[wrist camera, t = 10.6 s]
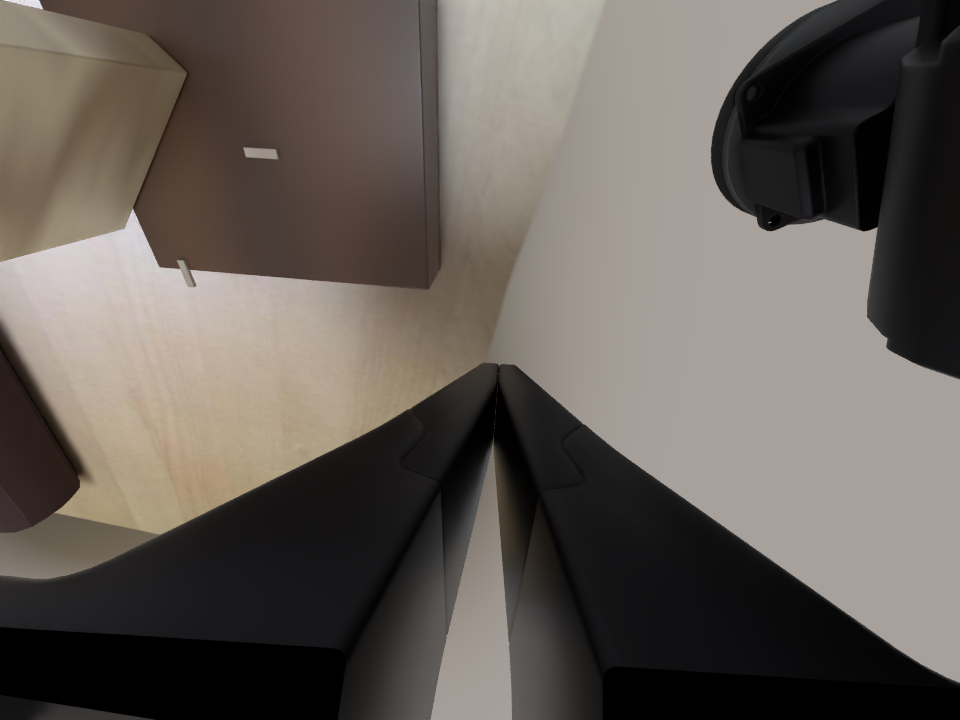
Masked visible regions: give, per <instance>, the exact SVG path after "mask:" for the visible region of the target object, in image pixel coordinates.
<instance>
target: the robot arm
mask: <svg viewBox="0 0 960 720" xmlns="http://www.w3.org/2000/svg"><path fill="white" fill-rule="evenodd" d="M752 86H755V88H756V93H755V95H754V97H753V98H752V99H750V100H748V98H747V92H748V90H749V88H750V87H752ZM735 103H736V108H737V114H738V119H739V124H740V130H741V135H742V139H741V141H740V143H739V145H738V147H737V149H738V154H739V159H740V165H741V170H742V175H743V180H744V185H745V190H746V196H747V200H748V201H751V202H754V205H755V211H756V216H757V222H758V225H759V227H761V228H762V229H764V230H767V231H774V230H777V229H779V228H782V227H784V226H786V225H789V224H791V223H793V222H795V221H798V220H800V219H804V220H807V221H811V220H813V219H815V218H818V217H820V218H823V219H826V220H829V221H833V222H836V223H839V224H842V225H845V226H848V227H851V228H855V229H858V230H861V231H868V230H871V229H874V228H876V227H878V229H877V236H876V243H875V250H874V257H873V264H872V273H871V279H870V286H869V293H868V301H867V317H868V319H869V320H870V321H871V322H872V323H873V324H874V326H875V327H876V328H877V329H878V330H879V331H880V333H881V334H882V335H883V336H885V337H887V338H888V340H887V346H886V347H887V348H888V349H889V350H890V351H892V352H894V353H896V354H898V355H899V356H902V357H903V358H906V359H907V360H909V361H911V362H913V363H916V364H918V365H920V366H922V367H925V368H927V369H930V370H934V371H936V372H939V373H942V374H945V375H948V376H951V377H954V378H957V379H960V0H884V1H882V2H880V3H879V4H877V5H875V6H873V7H872V8H870V9H868V10H866V11H865V12H863V13H861V14H860V15H858V16H856V17H854V18H853V19H851V20H849V21H847V22H846V23H844V24H842V25H840V26H839V27H837V28H835V29H834V30H832V31H830V32H828V33H827V34H825V35H823V36H821V37H820V38H818V39H816V40H814V41H813V42H811V43H809V44H808V45H806V46H804V47H802V48H801V49H799V50H797V51H795V52H794V53H792V54H790V55H788V56H787V57H785V58H783V59H782V60H780V61H778V62H776V63H775V64H773V65H771V66H769V67H768V68H766V69H764V70H762V71H761V72H759V73H757V74H756V75H754V76H752V77H750V78H749V79H747V80H746V81H744V82H743V83H742V84H741V85H740V86H739V88H738V89H737V92H736V95H735ZM775 214H776V219H775V220H774V221H773V222H772V223H768V222H769V219H770V217H771V216H773V215H775ZM498 373H499V375H498ZM497 386H498V388H497ZM496 398H497V401H496ZM495 411H496V414H495ZM494 424H495V427H494ZM493 437H494V459H495V472H496V486H497V498H498V511H499V522H500V523H499V524H500V536H501V548H502V562H503V574H504V587H505V598H506V599H505V600H506V613H507V625H508V637H509V643H510V644H509V649H510V650H509V651H510V665H511V686H512V687H511V688H512V720H960V683H959V682H956V681H954V680H951V679H949V678H946V677H944V676H942V675H941V674H939V673H937V672H935V671H933V670H931V669H929V668H927V667H925V666H923V665H921V664H920V663H918V662H916V661H915V660H913V659H912V658H910V657H909V656H907V655H905V654H904V653H902V652H901V651H899V650H898V649H896V648H894V647H893V646H892V645H890V644H889V643H888V642H886V641H885V640H883V639H882V638H881V637H879V636H878V635H876V634H875V633H873V632H872V631H871V630H869V629H868V628H866V627H865V626H864V625H862V624H861V623H859V622H858V621H856V620H855V619H854V618H852V617H851V616H849V615H848V614H846V613H845V612H844V611H842V610H841V609H839V608H838V607H837V606H835V605H833V604H832V603H831V602H830V601H828V600H827V599H825V598H824V597H822V596H821V595H820V594H818V593H817V592H815V591H814V590H813V589H811V588H810V587H808V586H807V585H805V584H804V583H803V582H801V581H800V580H798V579H797V578H795V577H794V576H793V575H791V574H790V573H789V572H787V571H786V570H784V569H783V568H781V567H780V566H779V565H777V564H776V563H774V562H773V561H771V560H770V559H769V558H767V557H766V556H764V555H763V554H762V553H760V552H759V551H757V550H756V549H754V548H753V547H752V546H750V545H749V544H747V543H746V542H744V541H743V540H742V539H740V538H739V537H738V536H736V535H735V534H733V533H732V532H730V531H729V530H727V529H726V528H725V527H723V526H722V525H721V524H719V523H718V522H716V521H715V520H713V519H712V518H711V517H709V516H708V515H706V514H705V513H704V512H702V511H701V510H699V509H698V508H696V507H695V506H694V505H692V504H691V503H689V502H688V501H686V500H685V499H684V498H682V497H681V496H679V495H678V494H677V493H675V492H674V491H672V490H671V489H669V488H668V487H667V486H665V485H664V484H662V483H661V482H660V481H658V480H657V479H655V478H654V477H653V476H651V475H650V474H648V473H647V472H645V471H644V470H643V469H641V468H640V467H638V466H637V465H636V464H634V463H633V462H631V461H630V460H628V459H627V458H626V457H625V456H623V455H622V454H620V453H619V452H618V451H616V450H615V449H614V448H612V447H611V446H610V445H609V444H607V443H606V442H605V441H604V440H602V439H601V438H600V437H599V436H597V435H596V434H595V433H594V432H593V431H592V430H590V429H589V428H588V427H587V426H586V425H584V424H582V423H581V422H580V421H579V420H578V419H577V418H576V417H574V416H573V415H572V414H571V413H570V412H569V411H568V410H566V409H565V408H564V407H563V406H562V405H561V404H560V403H558V402H557V401H556V400H555V399H554V398H553V397H551V396H550V395H549V394H548V393H547V392H546V391H544V390H543V389H542V388H541V387H540V386H539V385H538V384H536V383H535V382H534V381H533V380H532V379H531V378H529V377H528V376H527V375H526V374H525V373H524V372H523V371H521V370H520V369H519V368H518V367H517V366H515V365H507V364H506V365H505V364H501V365H500V366H499V365H498V364H493V363H482V364H480V365H479V366H477V367H476V368H474V369H472V370H471V371H469V372H468V373H466V374H465V375H463V376H461V377H460V378H458V379H457V380H455V381H453V382H452V383H450V384H449V385H447V386H445V387H444V388H442V389H441V390H439V391H437V392H436V393H434V394H433V395H431V396H430V397H428V398H426V399H425V400H423V401H422V402H420V403H418V404H417V405H415V406H414V407H412V408H410V409H408V410H406V411H405V412H403V413H401V414H400V415H398V416H396V417H395V418H393V419H391V420H390V421H388V422H386V423H384V424H383V425H381V426H379V427H377V428H375V429H374V430H372V431H370V432H368V433H366V434H364V435H362V436H360V437H358V438H356V439H354V440H352V441H350V442H348V443H346V444H344V445H342V446H340V447H338V448H336V449H334V450H332V451H330V452H328V453H326V454H324V455H322V456H320V457H318V458H316V459H314V460H312V461H310V462H308V463H306V464H303V465H301V466H299V467H297V468H295V469H293V470H291V471H289V472H287V473H285V474H283V475H281V476H279V477H277V478H275V479H273V480H271V481H269V482H267V483H265V484H263V485H261V486H259V487H257V488H255V489H253V490H251V491H249V492H247V493H245V494H243V495H241V496H239V497H237V498H235V499H233V500H231V501H229V502H226V503H224V504H222V505H220V506H218V507H216V508H214V509H212V510H210V511H208V512H206V513H204V514H202V515H200V516H198V517H196V518H194V519H192V520H190V521H188V522H186V523H184V524H182V525H180V526H178V527H176V528H174V529H172V530H170V531H168V532H166V533H164V534H162V535H160V536H158V537H156V538H154V539H152V540H149V541H147V542H146V543H143V544H141V545H139V546H137V547H135V548H133V549H131V550H129V551H127V552H125V553H123V554H121V555H119V556H117V557H115V558H113V559H111V560H109V561H106V562H104V563H102V564H99V565H97V566H95V567H92V568H90V569H87V570H83V571H81V572H77V573H74V574H71V575H67V576H61V577H56V578H51V579H30V578H21V577H13V576H0V720H430V719H431V713H432V708H433V703H434V697H435V692H436V686H437V680H438V675H439V670H440V665H441V661H442V656H443V652H444V647H445V643H446V635H447V634H448V630H449V626H450V622H451V618H452V614H453V609H454V605H455V601H456V597H457V593H458V588H459V584H460V580H461V576H462V571H463V567H464V563H465V559H466V555H467V551H468V546H469V542H470V538H471V534H472V529H473V525H474V521H475V517H476V513H477V509H478V504H479V500H480V496H481V492H482V488H483V483H484V479H485V475H486V471H487V466H488V463H489V458H490V454H491V449H492V444H493Z"/></svg>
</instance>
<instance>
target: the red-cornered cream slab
mask: <svg viewBox="0 0 960 720" xmlns="http://www.w3.org/2000/svg"><path fill="white" fill-rule="evenodd" d="M186 75H187V72H186V71H185V70H184V69H183V68H182V67H181V66H180V65H179V64H178V63H177V62H176V61H175V60H174V59H172V58H171V57H170V56H169V55H168V54H167V53H166V52H165V51H164V50H163V49H162V48H161V47H160V46H159V45H158V44H157V43H155V42H154V41H153V40H152V39H151V38H150V37H149V36H148V35H147V34H143V33H139V32H135V31H131V30H127V29H122V28H118V27H114V26H110V25H105V24H101V23H97V22H93V21H89V20H84V19H80V18H76V17H72V16H67V15H63V14H59V13H55V12H51V11H46V10H42V9H38V8H34V7H29V6H25V5H21V4H17V3H13V2H8V1H4V0H0V262H1V261H5V260H8V259H12V258H16V257H20V256H23V255H27V254H31V253H35V252H39V251H42V250H46V249H50V248H54V247H57V246H61V245H65V244H69V243H72V242H76V241H80V240H84V239H87V238H91V237H95V236H99V235H103V234H106V233H110V232H114V231H118V230H121V229H124V228H125V226H126V223H127V221H128V218H129V216H130V214H131V211H132V209H133V206H134V204H135V201H136V199H137V196H138V194H139V191H140V189H141V186H142V184H143V181H144V179H145V177H146V174H147V172H148V169H149V167H150V164H151V162H152V159H153V157H154V154H155V152H156V149H157V147H158V145H159V142H160V140H161V137H162V135H163V132H164V130H165V127H166V125H167V122H168V120H169V117H170V115H171V112H172V110H173V108H174V105H175V103H176V100H177V98H178V95H179V93H180V90H181V88H182V85H183V83H184V80H185V78H186Z"/></svg>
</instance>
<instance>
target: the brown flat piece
mask: <svg viewBox="0 0 960 720" xmlns="http://www.w3.org/2000/svg"><path fill="white" fill-rule="evenodd" d="M39 1H40V3H41V5H42V7H43V10H46V11H51V12H55V13H59V14H63V15H67V16H72V17H76V18H80V19H84V20H89V21H93V22H97V23H101V24H105V25H110V26H114V27H118V28H122V29H127V30H131V31H135V32H139V33H143V34H147V35H148V36H149V37H150V38H151V39H152V40H153V41H154V42H155V43H157V44H158V45H159V46H160V47H161V48H162V49H163V50H164V51H165V52H166V53H167V54H168V55H169V56H170V57H171V58H172V59H174V60H175V61H176V62H177V63H178V64H179V65H180V66H181V67H182V68H183V69H184V70H185V71H186V72H187V75H186V78H185V80H184V83H183V85H182V88H181V90H180V93H179V95H178V98H177V100H176V103H175V105H174V108H173V110H172V112H171V115H170V117H169V120H168V122H167V125H166V127H165V130H164V132H163V135H162V137H161V140H160V142H159V145H158V147H157V149H156V152H155V154H154V157H153V159H152V162H151V164H150V167H149V169H148V172H147V174H146V177H145V179H144V181H143V184H142V186H141V189H140V191H139V194H138V196H137V199H136V201H135V204H134V206H133V209H134V212H135V214H136V216H137V218H138V221H139V223H140V225H141V227H142V229H143V232H144V234H145V236H146V238H147V241H148V243H149V245H150V247H151V249H152V252H153V254H154V256H155V258H156V260H157V263H158V265H159V267H164V268H176V269H181V271H182V274H183V276H184V279H185V281H186V283H187V286H188V287H195V286H196V284H195V281H194V279H193V277H192V274H191V272H190V270H200V271H211V272H223V273H235V274H247V275H259V276H271V277H283V278H295V279H306V280H318V281H330V282H342V283H354V284H366V285H378V286H390V287H402V288H413V289H425V290H428V289H429V288H430V286H431V284H432V282H433V280H434V279H435V277H436V275H437V273H438V272H439V270H440V243H439V167H438V91H437V15H436V0H39Z"/></svg>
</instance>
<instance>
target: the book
mask: <svg viewBox="0 0 960 720" xmlns="http://www.w3.org/2000/svg"><path fill="white" fill-rule="evenodd" d="M79 488H80V480H79V478H78V476H77V475H76V473H75V471H74V470H73V468H72V466H71V465H70V463H69V462H68V460H67V458H66V457H65V455H64V453H63V452H62V450H61V448H60V447H59V445H58V443H57V442H56V440H55V439H54V437H53V435H52V434H51V432H50V430H49V429H48V427H47V425H46V424H45V422H44V420H43V419H42V417H41V415H40V414H39V412H38V411H37V409H36V407H35V406H34V404H33V402H32V401H31V399H30V397H29V396H28V394H27V392H26V391H25V389H24V388H23V386H22V384H21V383H20V381H19V379H18V378H17V376H16V374H15V373H14V371H13V369H12V368H11V366H10V364H9V363H8V361H7V360H6V358H5V356H4V355H3V353H2V351H1V350H0V533H3V532H4V533H5V532H17V531H20V530H24V529H26V528H30V527H33V526H34V525H36V524H38V523H39V522H41V521H42V520H44V519H46V518H47V517H49V516H50V515H51V514H53V513H54V512H56V511H57V510H58V509H60V508H61V507H62V506H63V505H64V504H65V503H66V502H68V501H69V500H70V499H71V498H72V496H73V495H74V494H75V493H76V492H77V490H78V489H79Z"/></svg>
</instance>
